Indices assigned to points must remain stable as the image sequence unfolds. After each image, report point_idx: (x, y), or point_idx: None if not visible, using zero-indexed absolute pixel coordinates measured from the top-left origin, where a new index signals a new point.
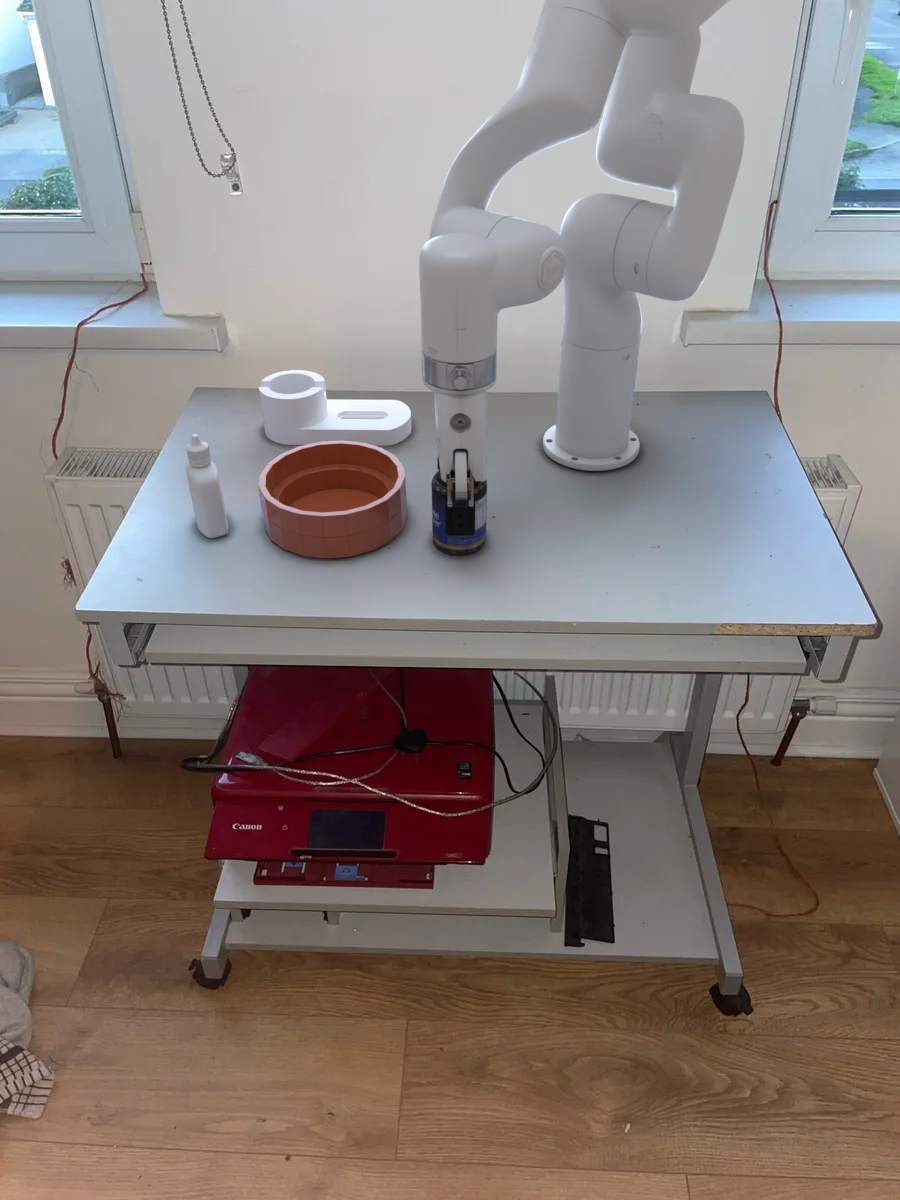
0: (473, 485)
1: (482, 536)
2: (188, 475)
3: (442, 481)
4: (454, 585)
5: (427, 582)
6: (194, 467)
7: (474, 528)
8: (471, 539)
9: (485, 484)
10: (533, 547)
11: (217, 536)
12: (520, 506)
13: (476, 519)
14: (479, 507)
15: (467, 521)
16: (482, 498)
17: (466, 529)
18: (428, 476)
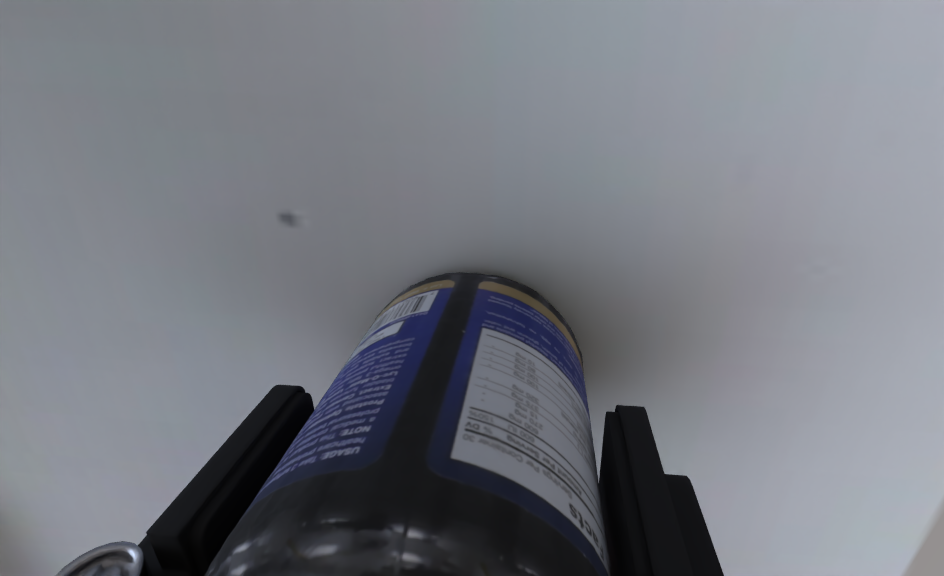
0: None
1: (531, 312)
2: None
3: None
4: (774, 399)
5: (730, 478)
6: None
7: (650, 430)
8: (577, 371)
9: (446, 540)
10: (527, 34)
11: None
12: (178, 87)
13: (571, 420)
14: (556, 459)
15: (704, 529)
16: (532, 488)
17: (689, 486)
18: (79, 424)
